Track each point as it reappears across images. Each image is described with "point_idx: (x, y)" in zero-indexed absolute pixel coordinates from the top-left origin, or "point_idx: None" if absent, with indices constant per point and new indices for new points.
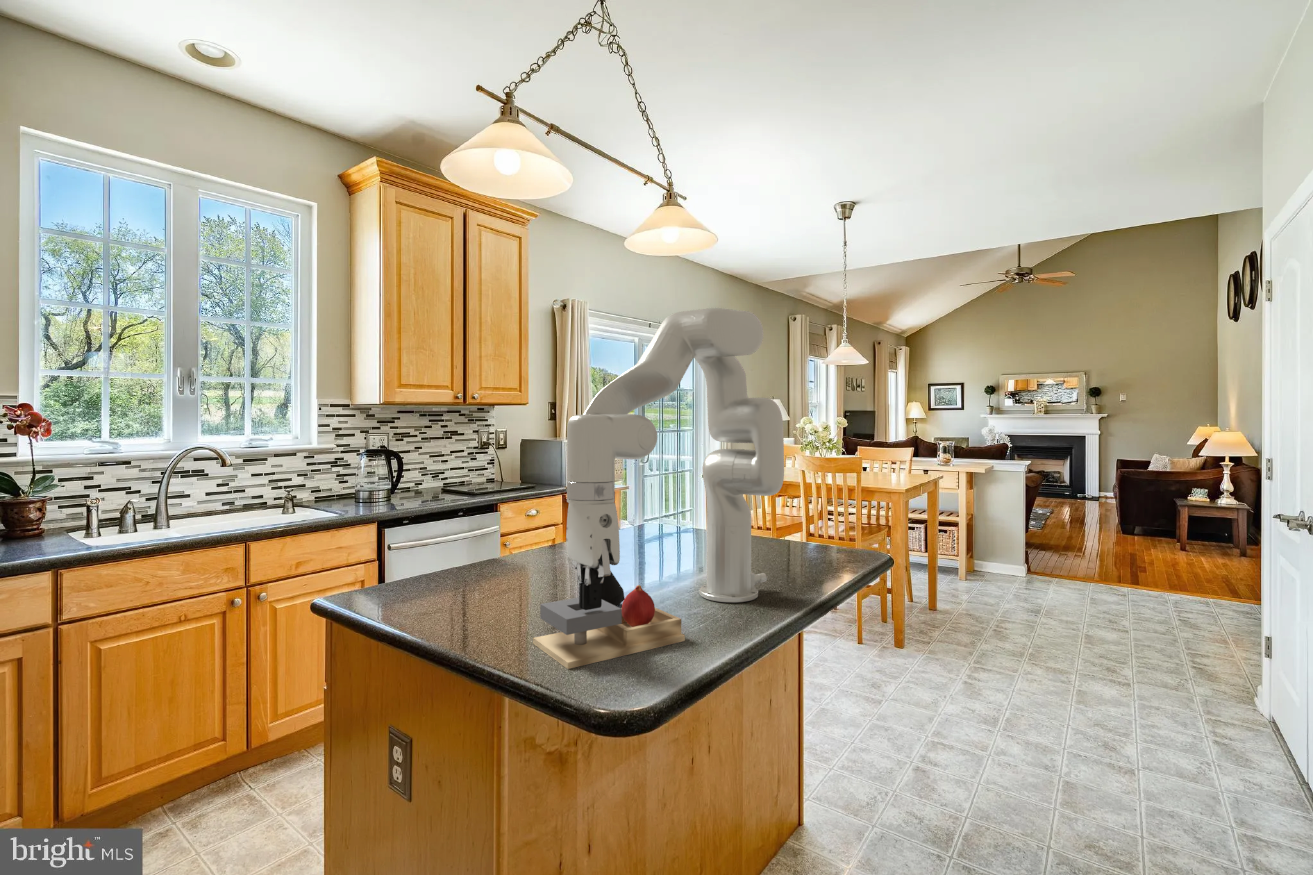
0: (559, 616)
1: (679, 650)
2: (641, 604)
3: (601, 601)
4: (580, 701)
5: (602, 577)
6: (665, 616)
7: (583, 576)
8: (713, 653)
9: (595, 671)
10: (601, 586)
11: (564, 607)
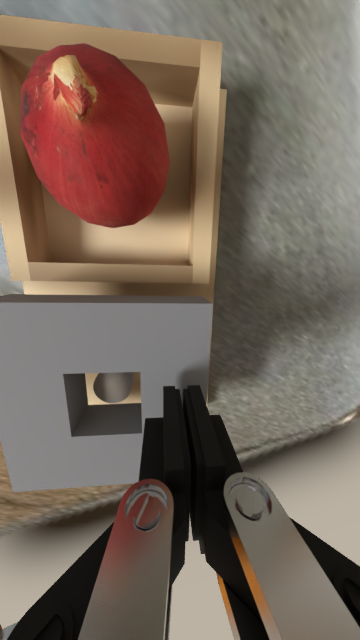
0: None
1: (261, 167)
2: (156, 165)
3: (202, 394)
4: (309, 429)
5: (330, 552)
6: (149, 66)
7: (171, 594)
8: (328, 105)
9: (239, 372)
10: (217, 444)
11: (90, 448)
